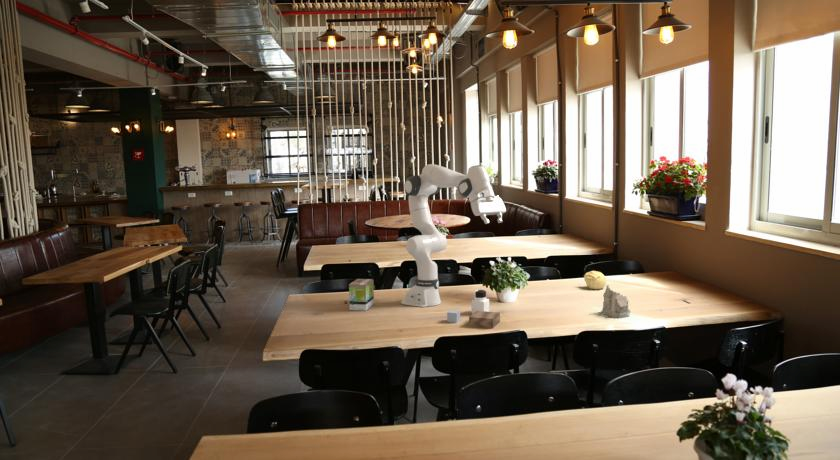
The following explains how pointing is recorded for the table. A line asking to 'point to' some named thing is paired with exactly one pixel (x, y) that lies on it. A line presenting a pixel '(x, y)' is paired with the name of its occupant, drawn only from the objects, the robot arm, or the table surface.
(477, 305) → the medicine bottle
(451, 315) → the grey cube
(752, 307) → the table surface
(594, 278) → the pale yellow lumpy ball
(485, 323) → the walnut block
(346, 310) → the table surface
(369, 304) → the tea box
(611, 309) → the grey rock
